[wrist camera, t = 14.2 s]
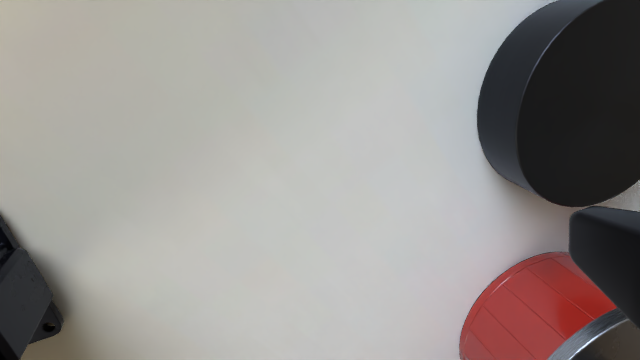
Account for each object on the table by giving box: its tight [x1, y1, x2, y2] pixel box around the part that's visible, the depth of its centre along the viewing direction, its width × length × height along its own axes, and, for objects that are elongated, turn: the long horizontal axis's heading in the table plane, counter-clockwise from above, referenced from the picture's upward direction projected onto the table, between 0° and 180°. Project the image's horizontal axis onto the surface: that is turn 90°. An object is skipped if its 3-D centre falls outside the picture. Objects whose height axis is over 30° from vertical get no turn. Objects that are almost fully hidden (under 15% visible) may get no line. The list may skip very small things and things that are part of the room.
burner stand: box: [477, 0, 640, 207], centre depth 21 cm, size 10×10×3 cm
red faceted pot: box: [459, 252, 617, 360], centre depth 26 cm, size 11×11×6 cm
